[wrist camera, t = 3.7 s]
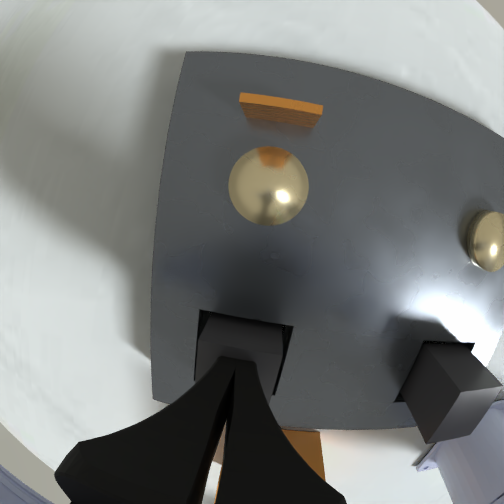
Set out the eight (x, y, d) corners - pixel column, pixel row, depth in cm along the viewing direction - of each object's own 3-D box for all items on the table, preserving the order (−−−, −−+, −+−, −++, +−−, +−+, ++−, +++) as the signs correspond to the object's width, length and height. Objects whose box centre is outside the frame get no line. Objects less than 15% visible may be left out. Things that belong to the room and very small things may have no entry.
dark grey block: (281, 308, 13) (282, 355, 9) (269, 359, 14) (266, 412, 10) (218, 297, 14) (198, 339, 10) (212, 349, 14) (193, 398, 10)
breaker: (463, 344, 11) (502, 386, 7) (440, 389, 12) (470, 434, 8) (422, 342, 11) (461, 391, 7) (399, 391, 12) (426, 444, 8)
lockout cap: (319, 432, 15) (326, 492, 10) (296, 474, 17) (297, 525, 12) (230, 421, 16) (218, 483, 11) (222, 465, 17) (211, 516, 12)
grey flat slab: (512, 162, 10) (563, 164, 6) (438, 399, 14) (464, 441, 10) (201, 72, 11) (169, 29, 7) (167, 372, 15) (139, 424, 11)
